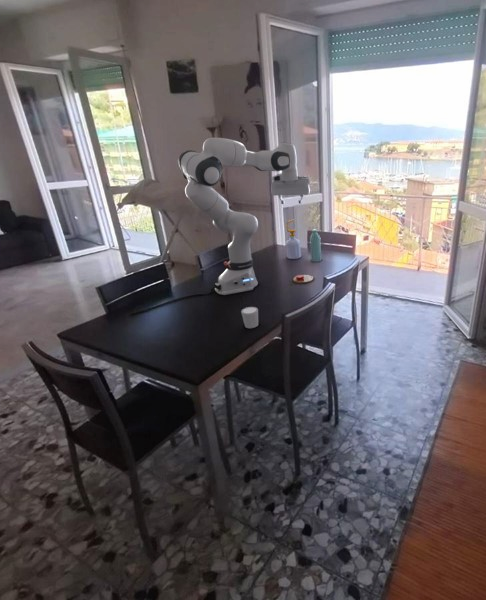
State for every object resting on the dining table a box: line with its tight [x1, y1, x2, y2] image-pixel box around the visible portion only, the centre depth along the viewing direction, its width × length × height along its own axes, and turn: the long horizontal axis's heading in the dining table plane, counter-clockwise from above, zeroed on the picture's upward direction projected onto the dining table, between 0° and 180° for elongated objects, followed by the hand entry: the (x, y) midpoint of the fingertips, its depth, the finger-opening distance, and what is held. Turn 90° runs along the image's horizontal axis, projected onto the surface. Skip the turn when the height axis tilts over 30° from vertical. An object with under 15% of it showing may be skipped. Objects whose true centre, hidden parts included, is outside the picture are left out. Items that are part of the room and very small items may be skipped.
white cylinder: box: [240, 306, 259, 329], centre depth 148 cm, size 7×7×7 cm
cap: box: [295, 274, 304, 281], centre depth 194 cm, size 4×4×2 cm
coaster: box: [292, 274, 314, 284], centre depth 195 cm, size 11×11×1 cm
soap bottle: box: [285, 218, 302, 260], centre depth 227 cm, size 9×9×25 cm
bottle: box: [309, 228, 322, 263], centre depth 222 cm, size 6×6×20 cm
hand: (291, 203), depth 190 cm, fingers open, 8 cm apart
